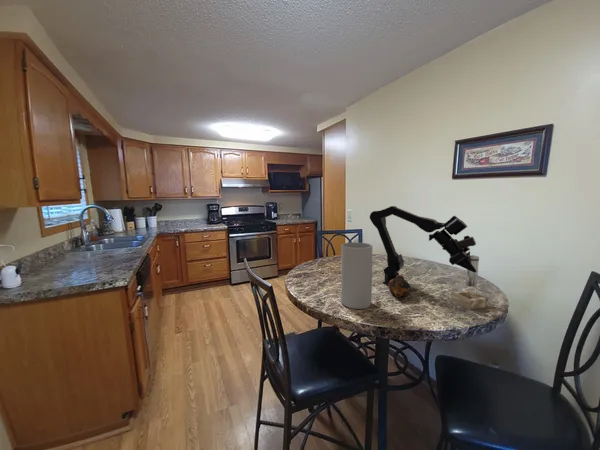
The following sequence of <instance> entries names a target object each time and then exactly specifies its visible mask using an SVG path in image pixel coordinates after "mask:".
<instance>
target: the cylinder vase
mask: <svg viewBox="0 0 600 450" xmlns="http://www.w3.org/2000/svg"><path fill="white" fill-rule="evenodd" d="M340 248H341V249H340V251H341V252H340V253H341V254H340V256H341V257H340V262H341V263H340V268H341V269H340V274H341V275H340V276H341V277H340V279H341V280H340V285H341V286H340V289H341V290H340V302H341V304H342V305H343V306H345V307H347V308H350V309H354V310H363V309H367V308H369V307H370V306H371V305H372V295H373V294H372V293H373V291H372V290H373V289H372V287H373V285H372V283H373V282H372V281H373V244H370V243H367V242H365V243H364V242H344V243H342V244H341V247H340Z"/></svg>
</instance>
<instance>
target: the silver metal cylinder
mask: <svg viewBox="0 0 600 450" xmlns="http://www.w3.org/2000/svg"><path fill="white" fill-rule="evenodd" d="M468 260H469V261H470V263H471V264H472V265H473V267H474V268H475V269H476V272H472V271H470V270H468V269H465V270H466V271H465V285H466V286H468V287H472V288H474V287H477V286H478V275H479V273H478V272H479V261H480V257H479V256H478V255H471V254H470V255H469V256H468Z"/></svg>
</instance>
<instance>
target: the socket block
mask: <svg viewBox="0 0 600 450" xmlns="http://www.w3.org/2000/svg"><path fill="white" fill-rule="evenodd" d="M450 301H451V302H453V303H455V304H457V305H460V306H462V307H463V308H466V309H468V310H475V309H481V308H488V307H489V298H488V297H486V296H483V295H481V294H478V293H477V292H476V293H475V292H473V291H470V290H461V291H451V292H450Z"/></svg>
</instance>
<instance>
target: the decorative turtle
mask: <svg viewBox="0 0 600 450" xmlns="http://www.w3.org/2000/svg"><path fill="white" fill-rule="evenodd" d="M411 287H412V286H411V284H410V283H409V282H408V280H406V279H405V277H404V275H402V274H399V275H398V276H396V278H394V279H392V280H391V281H390V282H389V283H388V285H387V288H388V291H389V292H390V294H391V295H392V296H395V297H396V298H401V297H403V298H406V297H407V296H408V295H409V294H410V291H411Z"/></svg>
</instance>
